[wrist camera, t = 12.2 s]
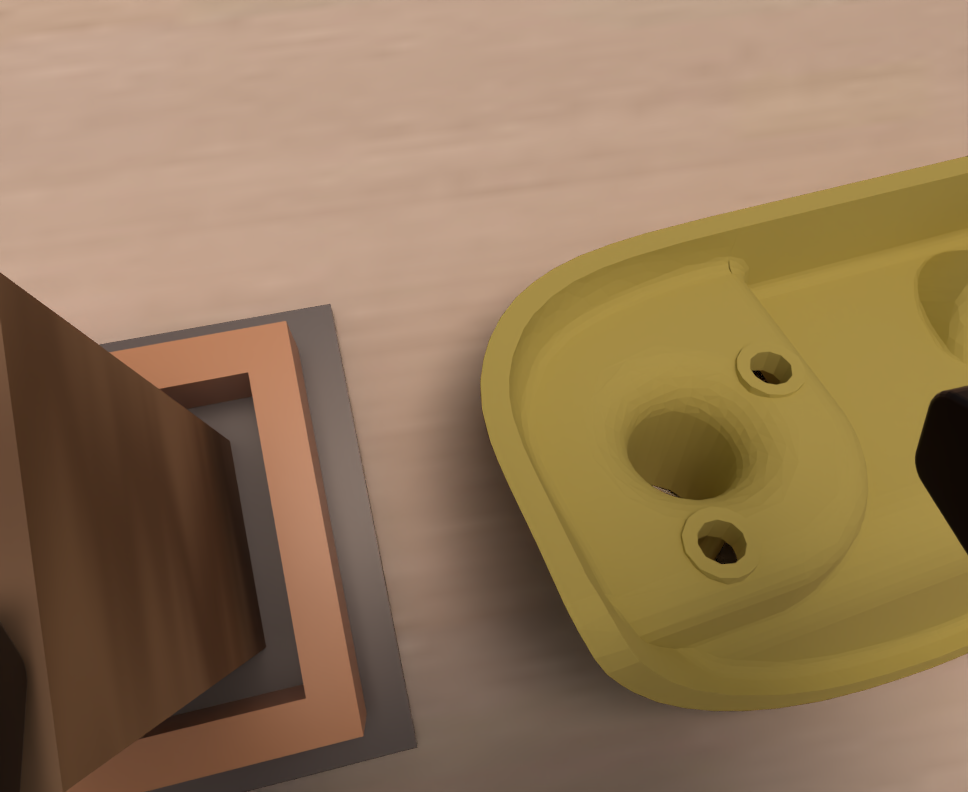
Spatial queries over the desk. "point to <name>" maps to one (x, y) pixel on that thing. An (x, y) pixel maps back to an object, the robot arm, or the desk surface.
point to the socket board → (280, 567)
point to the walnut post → (110, 547)
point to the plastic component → (747, 442)
